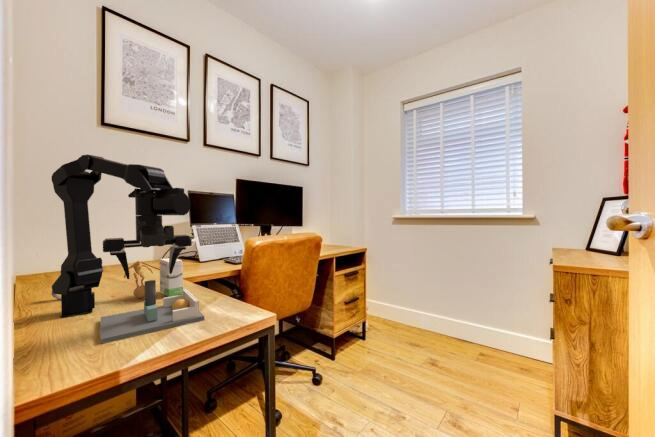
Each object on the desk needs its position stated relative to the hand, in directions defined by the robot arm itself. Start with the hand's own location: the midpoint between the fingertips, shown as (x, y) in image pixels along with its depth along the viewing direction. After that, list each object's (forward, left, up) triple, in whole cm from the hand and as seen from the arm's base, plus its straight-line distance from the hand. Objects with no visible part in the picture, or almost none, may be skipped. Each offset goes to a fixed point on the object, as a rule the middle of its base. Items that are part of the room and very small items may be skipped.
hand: (150, 276), depth 72 cm
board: (0, 0, -12) cm, 12 cm away
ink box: (+9, +24, -12) cm, 28 cm away
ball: (+7, 0, -9) cm, 12 cm away
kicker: (0, 0, -10) cm, 10 cm away
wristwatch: (-19, +38, -12) cm, 44 cm away
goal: (+7, 0, -11) cm, 13 cm away
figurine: (0, +25, -12) cm, 28 cm away
